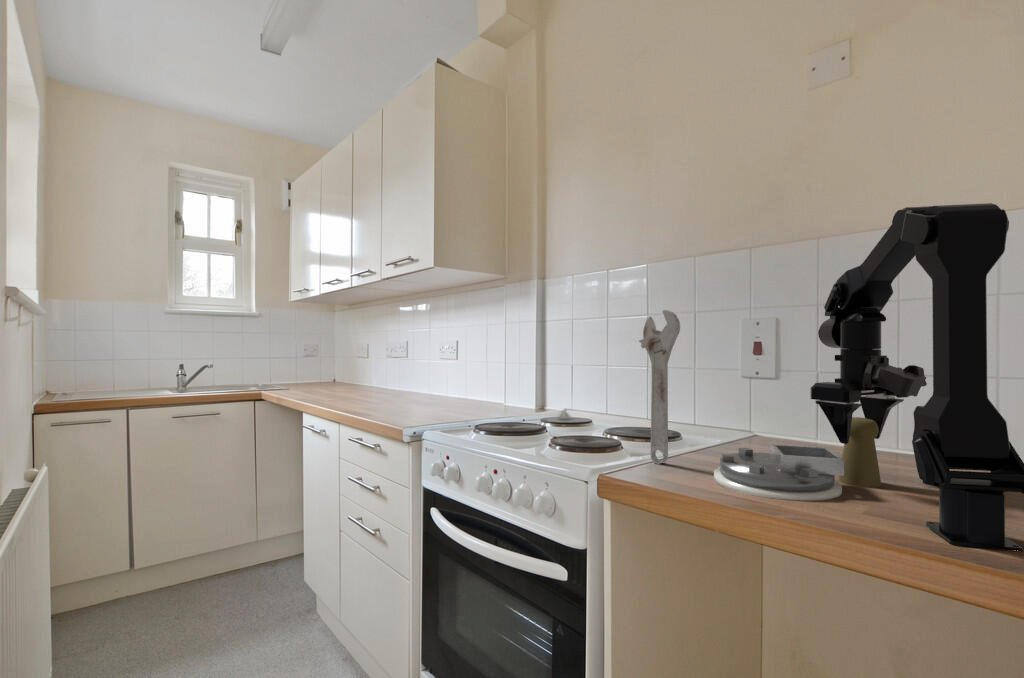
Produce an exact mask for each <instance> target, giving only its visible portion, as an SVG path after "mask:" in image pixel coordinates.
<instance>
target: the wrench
mask: <svg viewBox="0 0 1024 678" xmlns="http://www.w3.org/2000/svg"><path fill="white" fill-rule="evenodd" d="M662 314H663V316H664V320H665V321H666V324H665V325H664V327H663V329H662V330H658V329H657V326H656V323H655V320H654V319H653V317H652V316H648V317H646V320H645V322H644V325H643V329H642V339H640V340H638V342H639V343H640V346H641V348H642V349H645V351H646V352H647V354H648V357H649V360H650V363H651V364H650V365H651V367H650V368H651V386H650V388H651V389H650V390H651V393H650V395H651V396H650V400H651V401H650V402H651V403H650V453H649V455H650V459H651V461H652V462H653V463H655V464H657V465H658V464H659V465H660V464H662V463H665V462H667V461H668V458H669V408H668V407H669V390H668V388H669V387H668V386H669V383H668V382H669V381H668V380H669V379H668V376H669V375H668V373H669V369H668V368H669V367H668V365H669V362H670V361H669V360H670V357H671V355H672V352H673V351H672V350H673V347H674V345H675V343H676V341H677V338H678V337H679V334H680V331H681V322H680V320H679V318H678V316H677V314H675V313H674V312H673V311H671V310H668V309H664V310H662ZM657 451H660V452H661V454H662V460H660V459H659V458H657V455H656V452H657Z"/></svg>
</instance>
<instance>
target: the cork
mask: <svg viewBox="0 0 1024 678" xmlns="http://www.w3.org/2000/svg"><path fill="white" fill-rule="evenodd" d="M878 432H879V428H878V425H877V423H876V422H875V421H873V420H871V419H867V418H865V417H860V416H859V417H858V416H857V417H855V416H854V417H853V416H852V422H851V430H850V437H849V442H848V444H843V449H842V456H841V458H842V459H844V476H840V475H838V482H839V483H842V484H846V485H849V486H854V487H857V488H880V487H882V482H881V481H882V480H881V473H880V468H879V467H880V466H879V461H878V454H877V453H878V452H877V447H876V441H875V438H876V437H877V435H878Z"/></svg>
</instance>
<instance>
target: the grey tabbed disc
mask: <svg viewBox="0 0 1024 678" xmlns="http://www.w3.org/2000/svg"><path fill="white" fill-rule="evenodd" d="M769 445H770V446H769V447H770V453H769V452H768V453H767V452H754V450H753V449H752V448H749V447H738V453H737V452H736V453H731V454H729V453H728V454H727V453H721V456H720V459H719V467H720V473H721V474H722V475H723V476H725V477H726V478H728V479H731V480H733V481H736V482H739V483H742V484H746V485H750V486H754V487H760V488H765V489H772V490H780V491H792V492H814V491H823V490H827V489H830V488H832V487H833V486H834V481H835V480H836V479H835V478H836V477H835V476H839V475H840V476H844V459H842V456H840V455H838V454H837V453H835V452H834V451H832V450H831V449H830V448H829V447H823V446H821V447H820V446H809V445H808V446H807V445H805V446H804V445H791V444H790V445H788V444H775V443H772V444H771V443H770V444H769Z"/></svg>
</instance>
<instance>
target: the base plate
mask: <svg viewBox="0 0 1024 678" xmlns="http://www.w3.org/2000/svg"><path fill="white" fill-rule="evenodd" d="M713 480H714V481H715V483H717V484H718V486H719V485H720V486H721V487H722V488H725V489H727V490H729V491H733V492H736V493H741V494H745V495H748V496H749V495H751V496H756V497H760V498H767V499H774V500H775V499H777V500H787V501H823V500H824V501H825V500H831V499H835V498H838V497H840V496H841V495H842V493H843V486H842V484H841V482H840V481H837V480H836V479H835V481H834V486H833V487H832V488H830V489H827V490H823V491H814V492H792V491H780V490H772V489H765V488H760V487H754V486H750V485H746V484H742V483H739V482H736V481H733V480H731V479H728V478H726V477H725V476H723V475H722V474H721V473H720V466H718V467H716V468H715V469H714V471H713Z"/></svg>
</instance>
